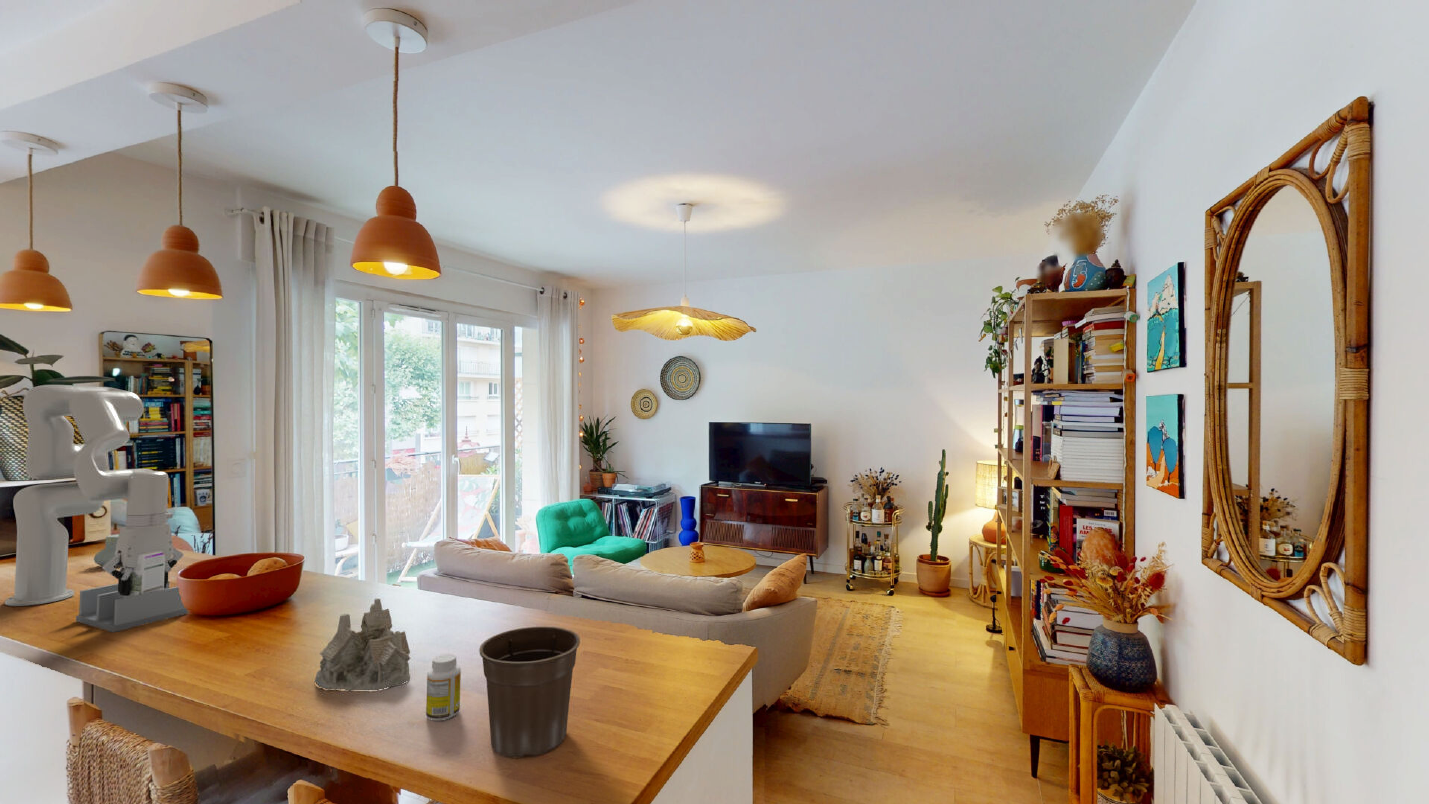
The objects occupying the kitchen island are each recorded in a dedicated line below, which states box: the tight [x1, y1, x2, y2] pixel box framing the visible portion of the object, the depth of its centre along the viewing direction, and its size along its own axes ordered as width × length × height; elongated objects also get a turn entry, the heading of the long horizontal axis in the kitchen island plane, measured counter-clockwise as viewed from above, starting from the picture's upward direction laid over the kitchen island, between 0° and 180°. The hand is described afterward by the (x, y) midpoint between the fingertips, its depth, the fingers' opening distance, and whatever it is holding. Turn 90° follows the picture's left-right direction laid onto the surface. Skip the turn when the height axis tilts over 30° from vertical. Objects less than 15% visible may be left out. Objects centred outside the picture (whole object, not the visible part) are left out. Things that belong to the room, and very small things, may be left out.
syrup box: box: [122, 551, 165, 598], centre depth 152 cm, size 6×6×14 cm
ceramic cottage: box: [314, 598, 411, 690], centre depth 122 cm, size 16×16×15 cm
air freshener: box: [93, 533, 119, 567], centre depth 202 cm, size 11×8×10 cm
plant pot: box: [478, 626, 581, 759], centre depth 101 cm, size 16×16×16 cm
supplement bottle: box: [425, 653, 462, 721], centre depth 108 cm, size 6×6×10 cm
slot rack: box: [75, 580, 189, 633], centre depth 153 cm, size 17×15×8 cm
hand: (143, 590), depth 152 cm, fingers closed on syrup box, 6 cm apart
